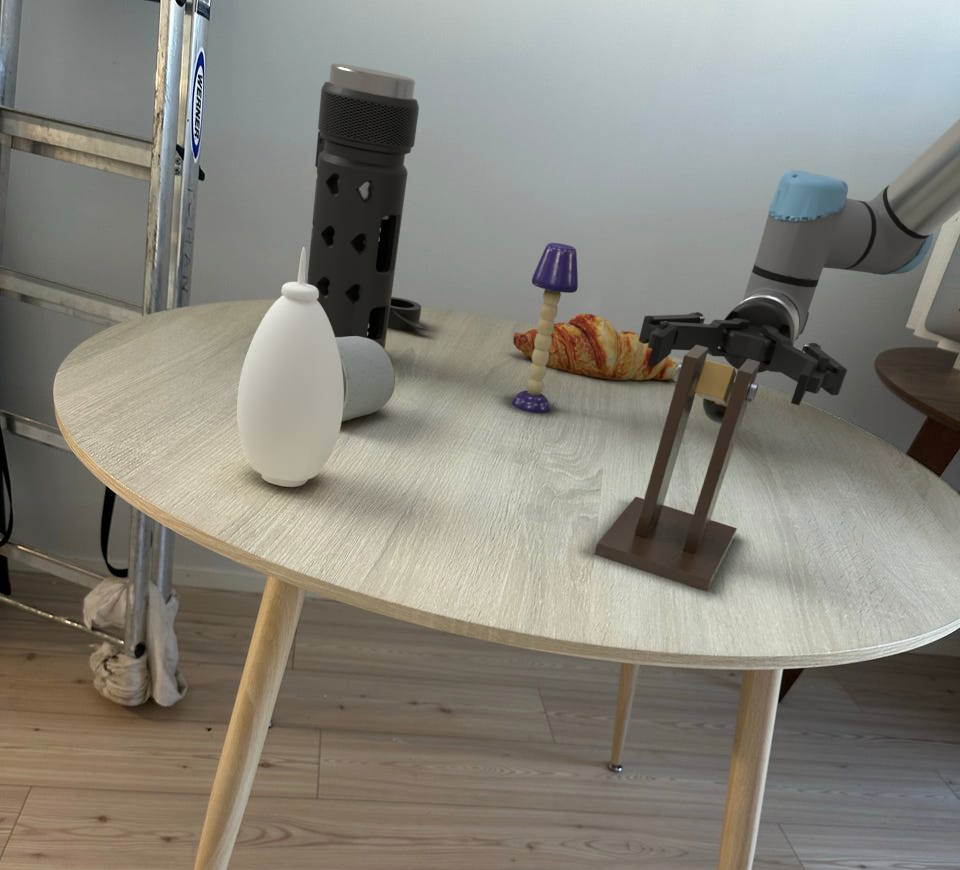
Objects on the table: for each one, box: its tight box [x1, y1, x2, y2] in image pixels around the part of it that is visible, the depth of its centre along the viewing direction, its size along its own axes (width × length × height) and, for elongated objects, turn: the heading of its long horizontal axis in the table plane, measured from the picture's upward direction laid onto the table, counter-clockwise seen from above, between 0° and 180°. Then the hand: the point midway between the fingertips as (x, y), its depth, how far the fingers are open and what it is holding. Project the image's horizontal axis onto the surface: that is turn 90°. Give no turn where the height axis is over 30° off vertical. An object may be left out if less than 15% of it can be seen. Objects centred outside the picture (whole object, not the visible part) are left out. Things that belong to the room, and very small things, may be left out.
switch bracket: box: [593, 345, 760, 593], centre depth 79 cm, size 12×9×16 cm
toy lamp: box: [511, 242, 579, 414], centre depth 104 cm, size 5×5×17 cm
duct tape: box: [387, 296, 427, 332], centre depth 127 cm, size 8×10×3 cm
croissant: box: [512, 313, 679, 381], centre depth 125 cm, size 21×10×8 cm, turn 97°
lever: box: [695, 359, 737, 425], centre depth 81 cm, size 14×4×4 cm, turn 158°
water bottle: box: [306, 63, 420, 350], centre depth 105 cm, size 10×28×10 cm
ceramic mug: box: [335, 336, 396, 423], centre depth 95 cm, size 11×8×8 cm
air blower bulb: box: [236, 246, 344, 488], centre depth 76 cm, size 8×8×18 cm
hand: (726, 370), depth 94 cm, fingers open, 13 cm apart
